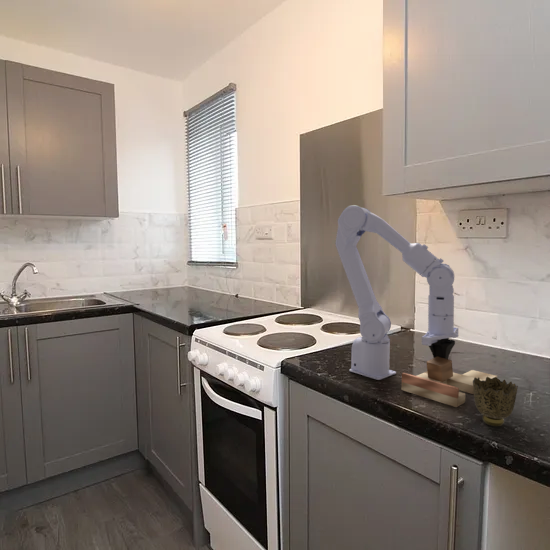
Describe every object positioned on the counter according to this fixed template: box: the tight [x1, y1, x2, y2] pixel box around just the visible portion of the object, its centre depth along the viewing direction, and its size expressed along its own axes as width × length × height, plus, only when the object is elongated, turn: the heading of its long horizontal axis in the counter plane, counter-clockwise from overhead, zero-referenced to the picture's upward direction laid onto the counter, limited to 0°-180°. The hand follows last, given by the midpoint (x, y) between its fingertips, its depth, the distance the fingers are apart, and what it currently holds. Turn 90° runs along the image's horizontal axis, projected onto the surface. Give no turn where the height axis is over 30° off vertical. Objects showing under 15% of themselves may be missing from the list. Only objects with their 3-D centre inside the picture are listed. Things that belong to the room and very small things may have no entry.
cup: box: [473, 376, 518, 427], centre depth 76 cm, size 8×7×8 cm
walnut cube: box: [426, 357, 454, 382], centre depth 96 cm, size 4×4×4 cm
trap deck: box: [401, 369, 498, 408], centre depth 96 cm, size 13×21×4 cm, turn 130°
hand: (440, 369), depth 98 cm, fingers closed, pressing on walnut cube
